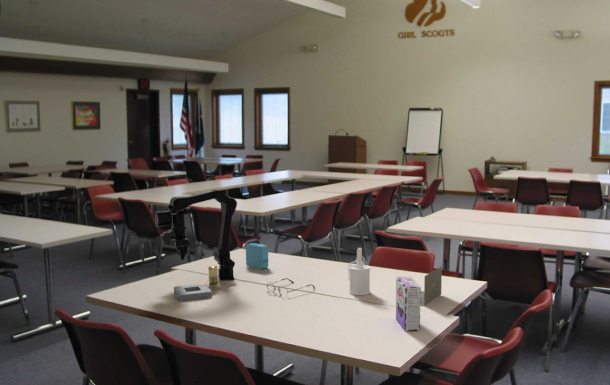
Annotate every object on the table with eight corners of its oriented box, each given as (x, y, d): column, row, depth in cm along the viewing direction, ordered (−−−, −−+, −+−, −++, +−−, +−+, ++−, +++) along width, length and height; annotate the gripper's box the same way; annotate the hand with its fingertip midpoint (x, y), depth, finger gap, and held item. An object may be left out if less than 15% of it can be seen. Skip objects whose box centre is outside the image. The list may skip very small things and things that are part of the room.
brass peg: (216, 282, 262) (216, 265, 261) (218, 284, 258) (218, 267, 257) (208, 283, 260) (207, 266, 259) (210, 285, 257) (209, 268, 256)
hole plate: (205, 288, 257) (205, 282, 257) (211, 297, 244) (211, 291, 244) (174, 292, 252) (173, 286, 252) (179, 301, 239) (178, 294, 239)
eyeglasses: (263, 291, 253) (262, 281, 252) (292, 283, 266) (291, 272, 266) (288, 299, 242) (288, 287, 241) (317, 289, 255) (317, 278, 255)
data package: (268, 268, 293) (268, 245, 291) (262, 269, 289) (262, 246, 288) (251, 264, 300) (251, 242, 299) (245, 266, 297) (245, 243, 295)
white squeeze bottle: (374, 292, 249) (374, 247, 246) (361, 297, 242) (361, 251, 239) (355, 287, 256) (355, 244, 253) (342, 292, 249) (342, 247, 247)
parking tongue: (218, 284, 263) (218, 281, 263) (221, 287, 258) (221, 284, 257) (205, 286, 261) (205, 282, 261) (208, 289, 255) (208, 286, 255)
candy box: (395, 318, 215) (395, 276, 213) (410, 317, 215) (410, 275, 213) (404, 331, 201) (405, 286, 199) (420, 331, 202) (421, 286, 200)
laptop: (414, 291, 251) (414, 262, 249) (441, 296, 243) (442, 266, 242) (396, 302, 236) (396, 271, 234) (425, 307, 229) (425, 276, 227)
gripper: (158, 222, 265) (160, 255, 267) (163, 229, 247) (165, 264, 249) (182, 220, 268) (184, 252, 270) (188, 227, 251) (190, 261, 253)
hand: (180, 257), depth 261 cm, fingers open, 9 cm apart
